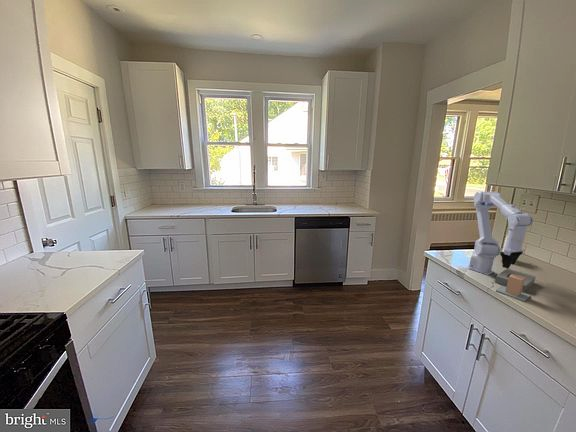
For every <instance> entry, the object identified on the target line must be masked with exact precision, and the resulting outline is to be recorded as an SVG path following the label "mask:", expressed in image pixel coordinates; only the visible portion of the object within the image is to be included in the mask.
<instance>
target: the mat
mask: <svg viewBox="0 0 576 432" xmlns="http://www.w3.org/2000/svg"><path fill="white" fill-rule="evenodd" d="M506 287H507V286H504V285H501V286H500V287H498V288H497V289H496V290H495V292H496V293H499V294H502V295H506V296H508V297H510V298H513V299H515V300H517V301H522V302H526V301H527V300H528V299H529V298H531V294H530V293H529V294H528V293H525V292H522V293H521V294H520V295H519V296H515V295H512V294H510V293H507V292H505V290H506Z"/></svg>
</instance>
